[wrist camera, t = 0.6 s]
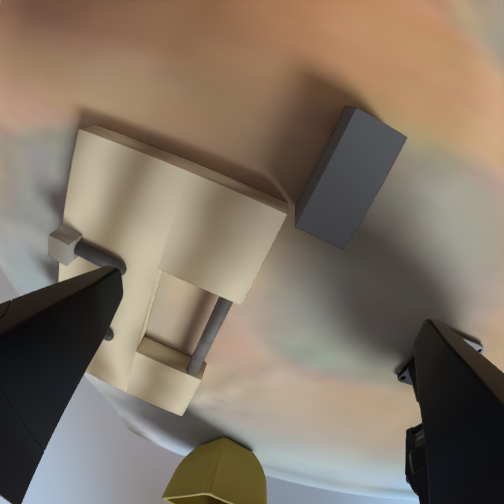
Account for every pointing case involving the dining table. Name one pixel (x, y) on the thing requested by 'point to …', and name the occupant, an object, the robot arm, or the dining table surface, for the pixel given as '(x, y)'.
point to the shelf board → (159, 251)
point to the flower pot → (218, 476)
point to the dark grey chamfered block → (347, 177)
